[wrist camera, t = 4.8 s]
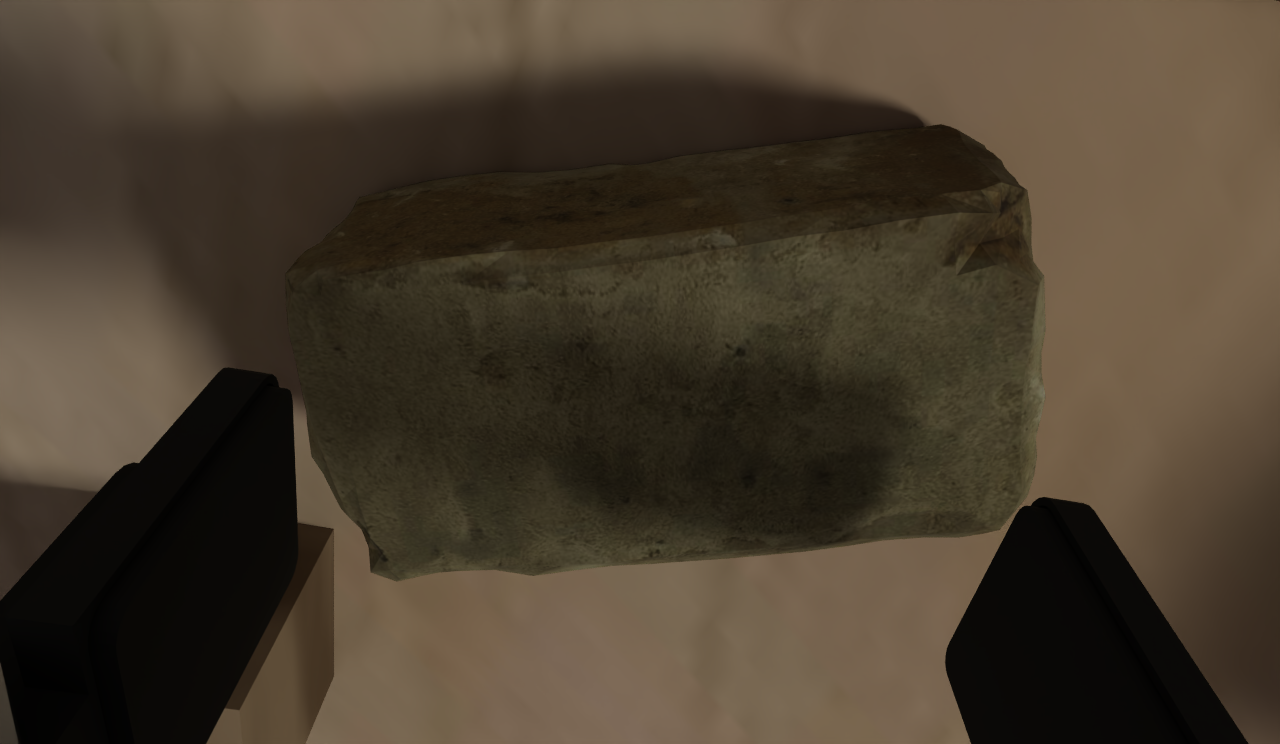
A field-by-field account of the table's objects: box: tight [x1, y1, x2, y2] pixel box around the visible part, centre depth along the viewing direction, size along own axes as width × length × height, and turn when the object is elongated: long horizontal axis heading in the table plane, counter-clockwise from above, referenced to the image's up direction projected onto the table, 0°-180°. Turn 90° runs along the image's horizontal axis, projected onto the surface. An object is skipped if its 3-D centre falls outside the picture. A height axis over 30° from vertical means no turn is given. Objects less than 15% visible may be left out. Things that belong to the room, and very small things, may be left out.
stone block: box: [285, 124, 1045, 581], centre depth 14 cm, size 6×12×5 cm, turn 98°
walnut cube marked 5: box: [206, 523, 334, 744], centre depth 18 cm, size 5×5×5 cm
